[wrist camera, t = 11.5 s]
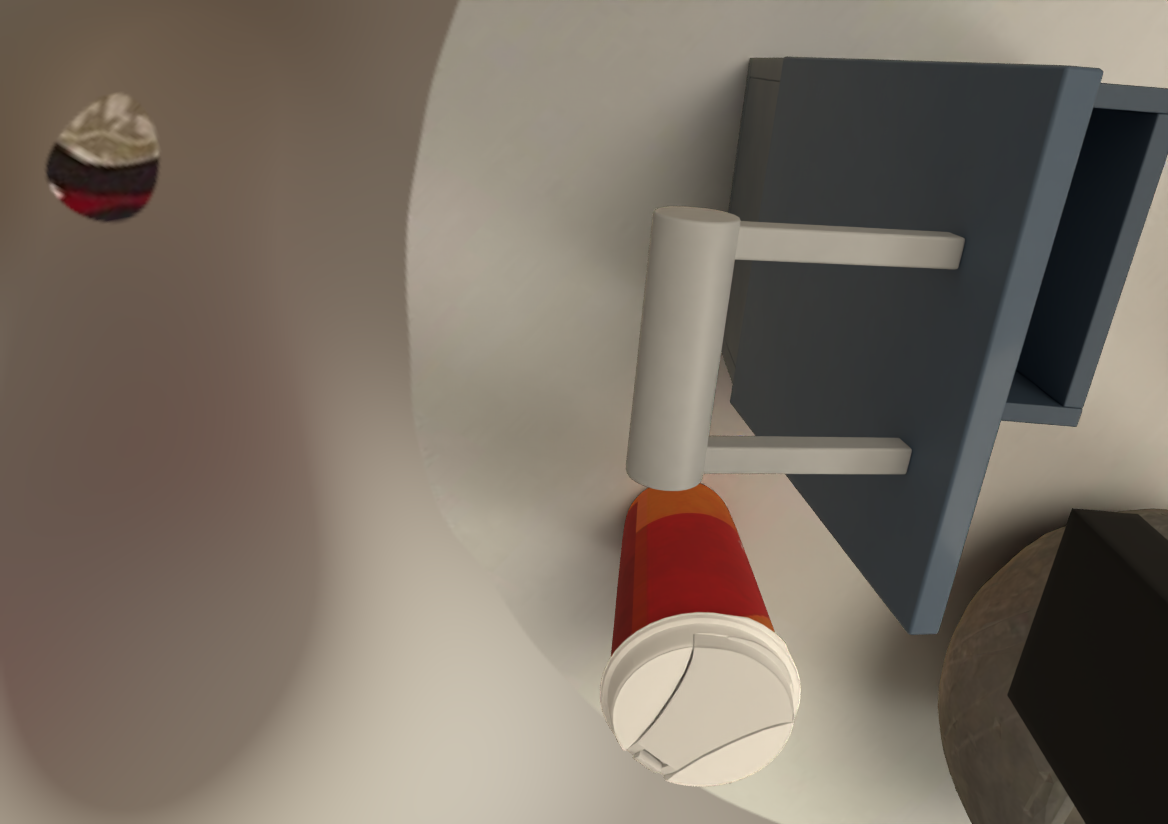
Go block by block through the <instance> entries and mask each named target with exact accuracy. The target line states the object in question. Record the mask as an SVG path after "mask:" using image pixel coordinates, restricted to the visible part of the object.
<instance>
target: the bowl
mask: <svg viewBox="0 0 1168 824" xmlns="http://www.w3.org/2000/svg"><path fill="white" fill-rule="evenodd" d="M1119 512H1120V513H1131V514H1139V515H1140V516H1141V517H1142V518H1143V519H1144V520H1145V521H1147V522H1148V523H1149V524H1150V525H1151V526H1152V527H1153V528H1155V529H1156V530H1157V531H1158V532H1159V533H1160V534H1161V535H1163V536H1164V537H1165V538H1166V539H1167V540H1168V510H1162V509H1142V510H1130V511H1119ZM1065 527H1066V526H1065ZM1065 527H1062V528H1059V529H1056V530H1054V531H1051V532H1049V533H1046V534H1045V535H1043V536H1042V537H1040V538H1039V539H1037V540H1036V541H1034V542H1033V543H1031V544H1030V545H1028V546H1026V547H1025V548H1024V549H1023V550H1021V551H1020V552H1019V553H1018V554H1017V555H1016V556H1014V557H1013V558H1012V559H1011V560H1010V561H1009V562H1008V563H1007V564H1006V565H1005V566H1004V567H1002V568H1001V569H1000V570H999V571H998V572H997V573H996V574H995V575H994V576H993V577H992V578H991V579H989V580H988V581H987V582H986V583H985V584H984V585H983V586H982V587H981V588H980V590H979V591H978V592H977V594H976V595H975V596H974V598H973V599H972V600H971V602H970V603H969V604H968V606H967V608H966V610H965V612H964V614H963V616H962V618H961V619H960V621H959V623H958V625H957V627H956V629H955V631H954V633H953V636H952V638H951V641H950V644H949V646H948V649H947V652H946V656H945V660H944V663H943V668H942V674H941V678H940V682H939V695H938V714H939V724H940V732H941V740H942V745H943V750H944V754H945V758H946V761H947V765H948V768H949V772H950V775H951V777H952V780H953V783H954V785H955V789H956V791H957V793H958V795H959V797H960V800H961V802H962V804H963V806H964V808H965V810H966V813H967V815H968V817H969V819H970V821H971V823H972V824H1085V822H1084V820H1083V819H1082V817H1081V815H1080V814H1079V812H1078V811H1077V809H1076V807H1075V806H1074V804H1073V802H1072V801H1071V799H1070V797H1069V796H1068V794H1067V793H1066V791H1065V789H1064V788H1063V786H1062V784H1061V783H1060V781H1059V779H1058V778H1057V776H1056V775H1055V773H1054V771H1053V770H1052V768H1051V766H1050V765H1049V763H1048V761H1047V760H1046V758H1045V756H1044V755H1043V753H1042V752H1041V750H1040V748H1039V747H1038V745H1037V743H1036V742H1035V740H1034V738H1033V737H1032V735H1031V734H1030V732H1029V730H1028V729H1027V727H1026V725H1025V724H1024V722H1023V720H1022V719H1021V717H1020V716H1019V714H1018V712H1017V711H1016V709H1015V707H1014V706H1013V704H1012V702H1011V701H1010V699H1009V698H1008V696H1007V694H1008V691H1009V688H1010V686H1011V683H1012V680H1013V677H1014V674H1015V671H1016V668H1017V665H1018V663H1019V660H1020V657H1021V654H1022V651H1023V648H1024V645H1025V642H1026V640H1027V637H1028V634H1029V631H1030V628H1031V625H1032V622H1033V619H1034V617H1035V614H1036V611H1037V608H1038V605H1039V602H1040V599H1041V596H1042V594H1043V591H1044V588H1045V585H1046V582H1047V579H1048V576H1049V573H1050V571H1051V568H1052V565H1053V562H1054V559H1055V556H1056V553H1057V550H1058V548H1059V545H1060V542H1061V539H1062V536H1063V533H1064V530H1065Z"/></svg>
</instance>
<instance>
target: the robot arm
mask: <svg viewBox="0 0 1168 824" xmlns="http://www.w3.org/2000/svg"><path fill="white" fill-rule="evenodd" d="M1007 696H1008V698H1009V699H1010V701H1011V702H1012V704H1013V706H1014V707H1015V709H1016V711H1017V712H1018V714H1019V716H1020V717H1021V719H1022V720H1023V722H1024V724H1025V725H1026V727H1027V729H1028V730H1029V732H1030V734H1031V735H1032V737H1033V738H1034V740H1035V742H1036V743H1037V745H1038V747H1039V748H1040V750H1041V752H1042V753H1043V755H1044V756H1045V758H1046V760H1047V761H1048V763H1049V765H1050V766H1051V768H1052V770H1053V771H1054V773H1055V775H1056V776H1057V778H1058V779H1059V781H1060V783H1061V784H1062V786H1063V788H1064V789H1065V791H1066V793H1067V794H1068V796H1069V797H1070V799H1071V801H1072V802H1073V804H1074V806H1075V807H1076V809H1077V811H1078V812H1079V814H1080V815H1081V817H1082V819H1083V820H1084V822H1085V824H1168V540H1167V539H1166V538H1165V537H1164V536H1163V535H1161V534H1160V533H1159V532H1158V531H1157V530H1156V529H1155V528H1153V527H1152V526H1151V525H1150V524H1149V523H1148V522H1147V521H1145V520H1144V519H1143V518H1142V517H1141V516H1140V515H1139V514H1131V513H1120V512H1108V511H1096V510H1084V509H1073V508H1072V510H1071V513H1070V516H1069V519H1068V522H1067V525H1066V527H1065V530H1064V533H1063V536H1062V539H1061V542H1060V545H1059V548H1058V550H1057V553H1056V556H1055V559H1054V562H1053V565H1052V568H1051V571H1050V573H1049V576H1048V579H1047V582H1046V585H1045V588H1044V591H1043V594H1042V596H1041V599H1040V602H1039V605H1038V608H1037V611H1036V614H1035V617H1034V619H1033V622H1032V625H1031V628H1030V631H1029V634H1028V637H1027V640H1026V642H1025V645H1024V648H1023V651H1022V654H1021V657H1020V660H1019V663H1018V665H1017V668H1016V671H1015V674H1014V677H1013V680H1012V683H1011V686H1010V688H1009V691H1008V694H1007Z"/></svg>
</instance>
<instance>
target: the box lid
mask: <svg viewBox="0 0 1168 824" xmlns="http://www.w3.org/2000/svg"><path fill="white" fill-rule="evenodd" d="M1102 76H1103V70H1101V69H1100V68H1090V67H1078V66H1065V65H1034V64H1002V63H971V62H939V61H908V60H876V59H845V58H813V57H784V59H783V65H782V72H781V78H780V85H779V91H778V97H777V104H776V110H775V117H774V123H773V130H772V136H771V142H770V149H769V155H768V162H767V168H766V174H765V181H764V187H763V194H762V200H761V207H760V213H759V219H758V222H749V221H740V218H739V217H738V216H736V215H734V214H731V213H727V212H724V211H719V210H713V209H707V208H699V207H686V206H668V207H660V208H657V209H655V210H654V211H653V217H652V226H651V235H650V245H649V254H648V264H647V273H646V282H645V292H644V301H643V310H642V320H641V329H640V338H639V348H638V357H637V366H636V376H635V385H634V395H633V404H632V413H631V423H630V432H629V441H628V451H627V460H626V471H627V474H628V475H629V477H630V478H631V479H632V480H634V481H635V482H637V483H639V484H641V485H643V486H646V487H649V488H652V489H657V490H663V491H682V490H687V489H691V488H693V487H695V486H697V485H698V484H699V483H700V482H701V481H702V478H703V474H785V475H786V476H787V477H788V478H789V480H790V481H791V482H792V484H793V485H794V486H795V488H796V489H797V490H798V491H799V493H800V494H801V495H802V497H803V498H804V499H805V501H806V502H807V503H808V504H809V506H810V507H811V508H812V510H813V511H814V512H815V514H816V515H817V516H818V517H819V519H820V520H821V521H822V523H823V524H824V525H825V527H826V528H827V529H828V530H829V532H830V533H831V534H832V536H833V537H834V538H835V540H836V541H837V542H838V543H839V545H840V546H841V547H842V549H843V550H844V551H845V553H846V554H847V555H848V556H849V558H850V559H851V560H852V562H853V563H854V564H855V566H856V567H857V568H858V569H859V571H860V572H861V573H862V575H863V576H864V577H865V579H866V580H867V581H868V582H869V584H870V585H871V586H872V588H873V589H874V590H875V592H876V593H877V594H878V595H879V597H880V598H881V599H882V601H883V602H884V603H885V605H886V606H887V607H888V608H889V610H890V611H891V612H892V614H893V615H894V616H895V618H896V619H897V620H898V621H899V623H900V624H901V625H902V627H903V628H904V629H905V631H906V632H907V633H908V634H910V635H925V634H937V633H938V632H939V629H940V625H941V622H942V618H943V615H944V612H945V608H946V605H947V602H948V598H949V595H950V591H951V588H952V585H953V581H954V578H955V574H956V571H957V568H958V564H959V561H960V557H961V554H962V551H963V547H964V544H965V541H966V537H967V534H968V530H969V527H970V524H971V520H972V517H973V513H974V510H975V507H976V503H977V500H978V496H979V493H980V490H981V486H982V483H983V479H984V476H985V473H986V469H987V466H988V463H989V459H990V456H991V452H992V449H993V446H994V442H995V439H996V435H997V432H998V429H999V425H1000V422H1001V418H1002V415H1003V412H1004V408H1005V405H1006V401H1007V398H1008V395H1009V391H1010V388H1011V385H1012V381H1013V378H1014V374H1015V371H1016V368H1017V364H1018V361H1019V357H1020V354H1021V351H1022V347H1023V344H1024V340H1025V337H1026V334H1027V330H1028V327H1029V324H1030V320H1031V317H1032V313H1033V310H1034V307H1035V303H1036V300H1037V296H1038V293H1039V290H1040V286H1041V283H1042V279H1043V276H1044V273H1045V269H1046V266H1047V262H1048V259H1049V256H1050V252H1051V249H1052V246H1053V242H1054V239H1055V235H1056V232H1057V229H1058V225H1059V222H1060V218H1061V215H1062V212H1063V208H1064V205H1065V201H1066V198H1067V195H1068V191H1069V188H1070V185H1071V181H1072V178H1073V174H1074V171H1075V168H1076V164H1077V161H1078V157H1079V154H1080V151H1081V147H1082V144H1083V140H1084V137H1085V134H1086V130H1087V127H1088V123H1089V120H1090V117H1091V113H1092V110H1093V107H1094V103H1095V100H1096V96H1097V93H1098V90H1099V86H1100V83H1101V79H1102ZM735 260H752V264H751V271H750V277H749V284H748V290H747V296H746V303H745V309H744V316H743V322H742V328H741V335H740V341H739V348H738V354H737V361H736V367H735V373H734V380H733V386H732V393H731V399H730V403H731V404H732V406H733V407H734V408H735V410H736V411H737V412H738V413H739V415H740V416H741V417H742V419H743V420H744V421H745V423H746V424H747V425H748V426H749V428H750V429H751V430H752V432H753V433H754V434H755V436H709V432H710V425H711V418H712V411H713V404H714V398H715V391H716V384H717V377H718V371H719V364H720V357H721V350H722V343H723V337H724V330H725V323H726V316H727V310H728V303H729V296H730V289H731V283H732V276H733V269H734V262H735Z"/></svg>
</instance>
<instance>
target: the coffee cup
mask: <svg viewBox="0 0 1168 824" xmlns="http://www.w3.org/2000/svg"><path fill="white" fill-rule="evenodd" d="M800 695H801V687H800V678H799V675H798V671H797V667H796V665H795V663H794V661H793V659H792V657H791V655H790V653H789V650H788V648H787V646H786V643H785V642H784V641H783V640H782V639H781V638H780V637H779V636H778V635H777V634H776V633H775V631H774V629H773V626H772V623H771V620H770V618H769V615H768V612H767V610H766V607H765V604H764V601H763V599H762V596H761V593H760V591H759V588H758V585H757V582H756V580H755V577H754V574H753V572H752V569H751V566H750V564H749V561H748V558H747V556H746V553H745V550H744V548H743V545H742V542H741V540H740V537H739V535H738V532H737V529H736V527H735V524H734V522H733V520H732V517H731V515H730V513H729V511H728V509H727V507H726V505H725V503H724V502H723V500H722V499H721V498H720V497H719V496H718V495H717V494H716V493H715V492H714V491H713V490H711V489H710V488H708V487H707V486H705V485H703V484H700V483H699V484H698V485H697V486H695V487H693V488H691V489H687V490H682V491H663V490H657V489H652V488H647V489H646V490H645V491H643V492H642V493H641V494H640V495H639V496H638V497H637V498H636V499H635V500H634V502H633V503H632V505H631V506H630V508H629V511H628V513H627V516H626V520H625V525H624V531H623V539H622V548H621V557H620V567H619V577H618V587H617V597H616V608H615V619H614V630H613V640H612V651H611V658H610V659H609V661H608V663H607V665H606V667H605V670H604V672H603V675H602V680H601V684H600V702H601V707H602V712H603V715H604V717H605V720H606V722H607V724H608V726H609V727H610V729H611V730H612V732H613V734H614V735H615V737H616V739H617V742H618V743H619V745H620V746H621V748H622V749H623V751H625V750H628V751H629V752H630V753H631V754H632V755H633V759H635V760H636V761H638V762H639V763H640V764H642V765H643V766H645V767H646V768H648V769H649V770H651V771H652V772H653V773H658V772H659V773H661V774H662V775H664V779H665V780H666V781H668V782H672V783H676V784H680V785H687V786H716V785H722V784H727V783H732V782H735V781H738V780H741V779H744V778H746V777H748V776H750V775H752V774H754V773H756V772H757V771H759V770H760V769H762V768H764V767H765V766H766V765H768V764H769V763H770V762H771V761H772V760H773V759H774V758H775V757H776V756H777V755H778V754H779V752H780V751H781V750H782V749H783V747H784V745H785V744H786V742H787V740H788V738H789V737H790V734H791V731H792V728H793V725H794V718H795V716H796V713H797V710H798V707H799V703H800Z"/></svg>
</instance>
